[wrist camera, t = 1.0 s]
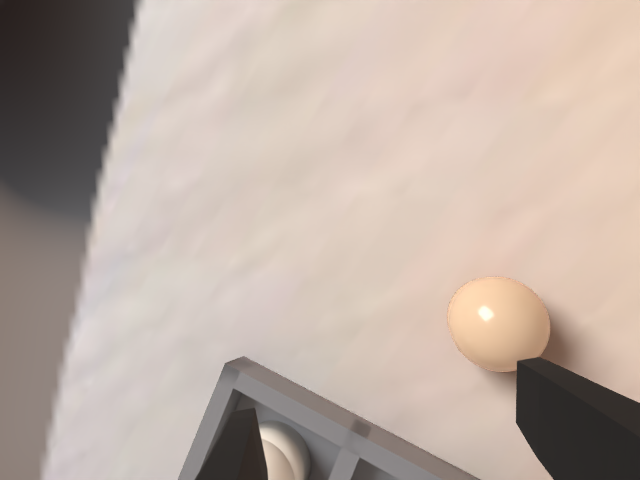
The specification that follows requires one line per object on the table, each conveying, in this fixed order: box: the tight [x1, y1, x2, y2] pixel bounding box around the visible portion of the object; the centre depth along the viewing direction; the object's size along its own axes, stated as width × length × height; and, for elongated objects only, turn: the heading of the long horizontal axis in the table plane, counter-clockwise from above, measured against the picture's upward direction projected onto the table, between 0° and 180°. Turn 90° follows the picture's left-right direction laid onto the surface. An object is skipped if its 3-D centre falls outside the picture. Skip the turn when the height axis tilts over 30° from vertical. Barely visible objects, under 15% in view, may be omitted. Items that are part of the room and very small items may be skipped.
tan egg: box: [447, 277, 550, 372], centre depth 20 cm, size 4×4×5 cm
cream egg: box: [258, 421, 311, 480], centre depth 22 cm, size 4×4×5 cm
